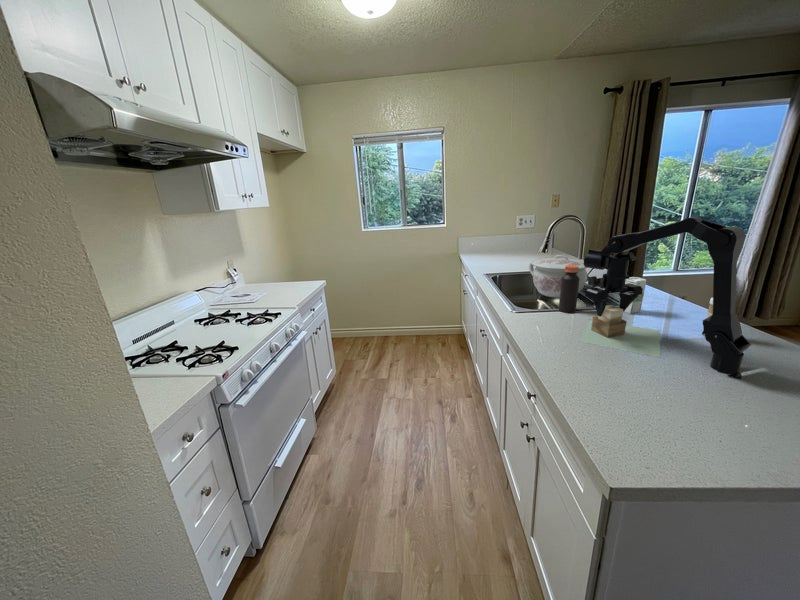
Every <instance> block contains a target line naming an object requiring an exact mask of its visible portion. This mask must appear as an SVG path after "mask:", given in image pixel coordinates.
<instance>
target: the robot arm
mask: <svg viewBox="0 0 800 600" xmlns="http://www.w3.org/2000/svg"><path fill="white" fill-rule="evenodd" d="M684 233H685V234H686V233H687V234H690V236H692V237H694V238H696V239H697V240H699V241H701V242H704V243H706V245H707V251H708V254H709V256H710V258H711V260H712V262H713V282H712V284H713V286H712V287H713V288H712V291H713V292H712V298H713V313H712V316H710V317H708V318H706V317H705V318H704V319H703V320H702V326H703V327H702V328H703V330H702V332H701V335H703V334H705V336H704V339H705V340H706V341H707V342H708V343H709V346H710V349H711V352H712V353H713V354H712V357H711V360H710V361H711V362H710V364H709V367H710V368H711V369H712V370H714V371H716V372H717V373H719V374H726V377H731V378H736V379H741V380H742V379H743V376H742V373H741V372H740V369H741V366H742V362H743V358H744V355H745V353H744V351H747V350H748V349H749V348H750V347H751V346H752V343H751V342H750V341H749V340H748V339H747V338H746V337H745V336H744V335H743V330H742V327H741V322H740V319H739V317H738V315H737V313H736V303H737V302H736V300H737V297H736V296H737V268H738V260H739V257H740V255H741V253H742V250H743V248H744V245H745V241H746V237H747V235H746V234H747V233H746V231H745V230H743V229H742V228H740V227H738V226H725V225H722V224H719V223H716V222H713V221H709V220H706V219H703V218H701V217H699V216H691V217H687V218H684V219H682V220H680V221H679V220H678V221H676V222H670V223H668V224H665V225H662V226H657V227H654V228H651V229H647V230H644V231H640V232H630V233H624V234H619V235H614V236H612V237H610V238H609V240H608V243H607V245H606V246H605V247H604V248H603V249H596V248H590V249H588V253H586V255H585V257H584V259H583V260H584V266H585V267H587V268H586V269H588V268H589V269H595V270H601V271H602V270H605V269H606V268H607V269H606V273H603V274H602V277H599V278H597V275H595V276H589V277H587V284H588V286H591V288H587V289H586V290H585V293H584V294H585V295H584V296H585V297H587V298H588V299H589V300H592V302H593V304H594V307H595V310H596V314H597V316H599V317H601V316H602V314H603V312H604V309H605V307H606V306H607V304H608V302H609V300H608V298H609V296H610V295H611V296H612V295H618V296H619V301H620V305H619V304H618V307H619V308H621V309H623V313H625V312H624V311H625V310H626V309H627V307H628V306H629V305H630V304H631V303H632V302H633V301H634V300H635V299H636V298H637V297H638V296H639V295H641V294H642V291H643V289H642V287H641V286H638V285H635V284H631V283H627V284H625V282H626V279H629V278H630V276H631V275H628V271H629V262H632V261H635V260H638V257H636V256H635V255H634V252H632V251H631V250H633V249H636V248H638V247H641V246H642V245H645V244H647V243H650V242H654V241H658V240H662V239H665V238H670V237H673V236H676V235H682V234H684ZM628 251H631V252H628ZM625 252H628V253H626V254H625ZM614 254H615V255H614Z"/></svg>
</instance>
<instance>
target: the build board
mask: <svg viewBox="0 0 800 600" xmlns="http://www.w3.org/2000/svg"><path fill="white" fill-rule="evenodd" d="M592 320H593V319H589V320H588V323H587V324H586V327H585V329H584V331H583V333H582V335H581V337H580V340H579V343H584V344H588V345H593V346H600V347H605V348H609V349H615V350H621V351H625V352H629V353H635V354H641V355H643V356H644V355H645V356H649V357H655V358H661V333H660V332H661V331H660V330H659V329H654V328H653V329H652V328H649V327H648V328H646V327H640V326H634V325H628V324H626V328H625V334H624V335H621V336H616V337H610V338H606V337H604V336H602V335H600V334H598V333H596V332H594V331H591V328H592Z"/></svg>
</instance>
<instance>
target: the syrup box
mask: <svg viewBox="0 0 800 600" xmlns="http://www.w3.org/2000/svg"><path fill="white" fill-rule="evenodd" d="M627 283H631V284H635V285H638V286H641V287H642V289H643V291H642V294H641V295H639V296H638V297H637V298H636V299H635V300H634V301H633V302H632V303H631V304H630V305H629V306H628V307H627V309H626V310H625V311H624V312H623V313H625V314H629V315H632V314H636V313H640V312H641V310H642V309H641V308H642V303H643V300H644V295H645V290H646V285H647V279H645V278H642V277H637V276H631V277H629V279H626V282H625V284H627ZM619 305H620V300H619V303H618V306H617V307H618V308H619Z"/></svg>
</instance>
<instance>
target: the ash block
mask: <svg viewBox="0 0 800 600" xmlns="http://www.w3.org/2000/svg"><path fill="white" fill-rule="evenodd" d="M618 307H619V306H616V305H612V304H610V305H609V304H608V305H606V307H605V309H604V312H603V314H602V316H601V317H599V316H598V315H597V316H598V319H600V320H603V321H605V322H607V323H615V322H621V320H623V313H624V312H623V309H621V308H618Z"/></svg>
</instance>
